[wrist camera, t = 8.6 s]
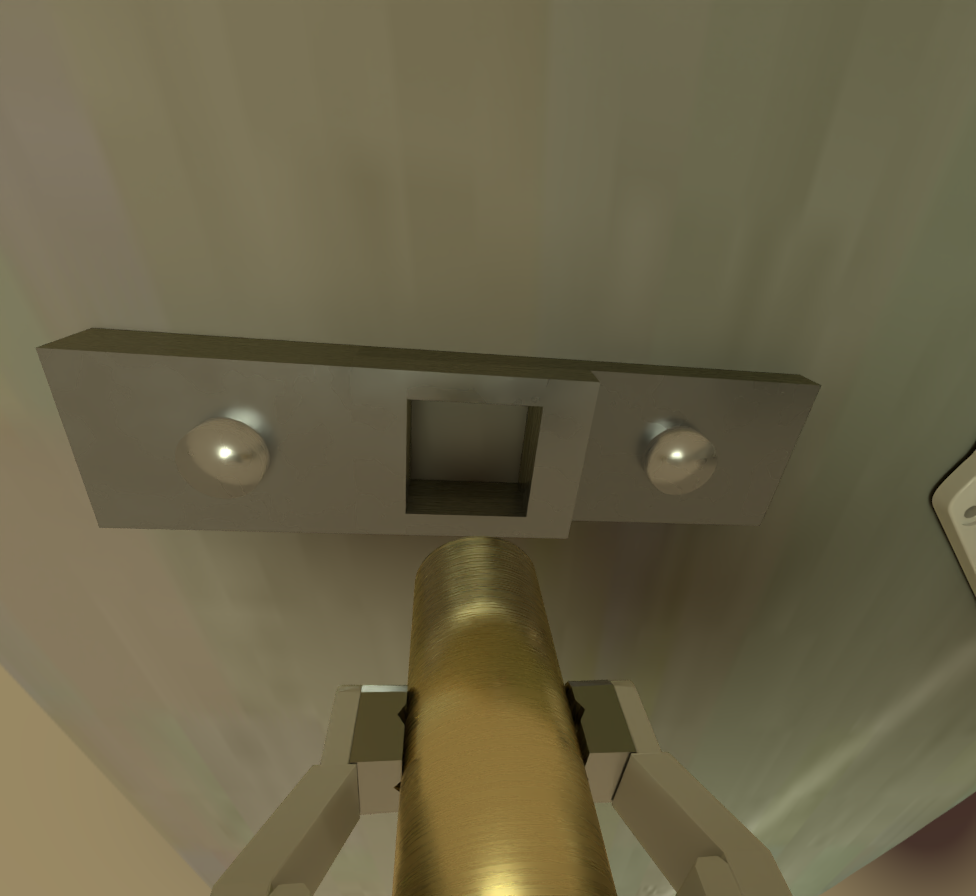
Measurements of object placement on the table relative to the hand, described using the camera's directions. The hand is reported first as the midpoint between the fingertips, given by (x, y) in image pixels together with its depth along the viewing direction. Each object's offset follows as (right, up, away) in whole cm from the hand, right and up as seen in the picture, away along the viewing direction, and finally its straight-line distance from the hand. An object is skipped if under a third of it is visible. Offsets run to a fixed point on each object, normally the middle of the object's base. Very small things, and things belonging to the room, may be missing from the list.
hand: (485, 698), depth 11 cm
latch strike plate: (-1, +6, +12) cm, 14 cm away
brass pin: (0, +2, +3) cm, 4 cm away
